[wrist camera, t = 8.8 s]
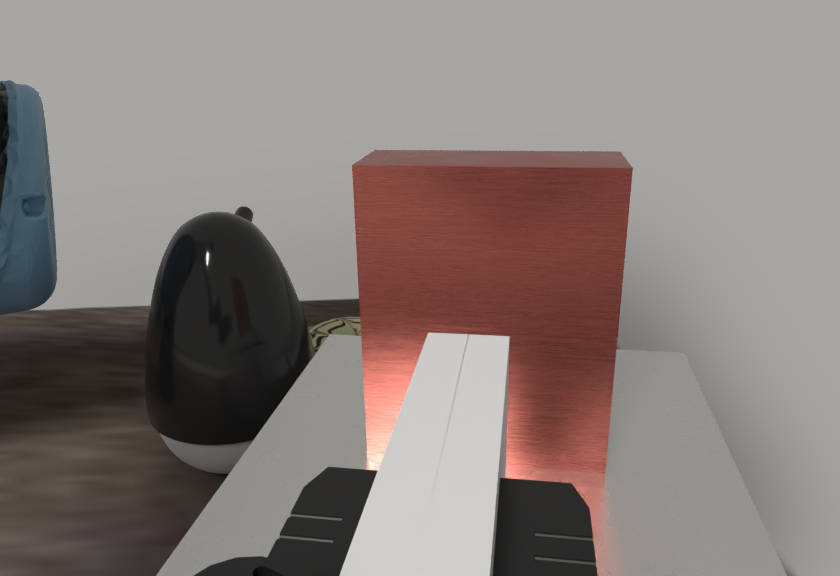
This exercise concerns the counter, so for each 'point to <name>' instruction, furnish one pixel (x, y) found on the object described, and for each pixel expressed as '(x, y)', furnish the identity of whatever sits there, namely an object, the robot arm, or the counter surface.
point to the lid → (528, 366)
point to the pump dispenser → (221, 340)
